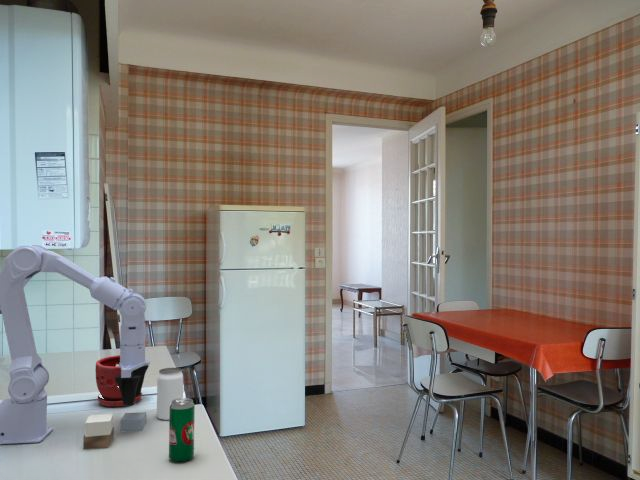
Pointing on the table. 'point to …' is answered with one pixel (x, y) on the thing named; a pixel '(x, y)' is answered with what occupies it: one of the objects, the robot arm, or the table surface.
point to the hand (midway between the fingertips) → (132, 399)
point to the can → (168, 390)
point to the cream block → (99, 425)
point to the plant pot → (110, 381)
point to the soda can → (181, 430)
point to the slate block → (133, 421)
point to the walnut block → (98, 441)
